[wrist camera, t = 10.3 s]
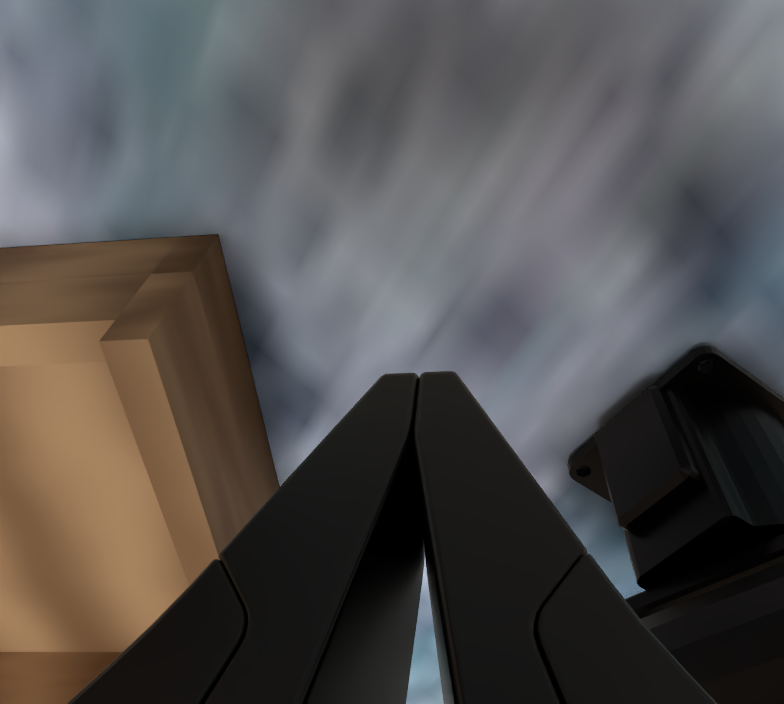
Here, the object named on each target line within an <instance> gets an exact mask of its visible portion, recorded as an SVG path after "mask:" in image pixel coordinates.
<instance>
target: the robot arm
mask: <svg viewBox="0 0 784 704" xmlns="http://www.w3.org/2000/svg"><path fill="white" fill-rule="evenodd" d="M704 360H711V361H710V362H709V364H707V365H705V366H699V364H700V362H702V361H704ZM581 466H588V467H587V468H585V469H578V468H579V467H581ZM568 469H569V474H570V476H571V478H573V479H574V480H575V481H577V482H578V483H580V484H582V485H583V486H585V487H587V488H588V489H590V490H592V491H593V492H595V493H596V494H598V495H600V496H601V497H603V498H605V499H606V500H608V501H610V502H611V503H612V506H613V510H614V514H615V517H616V521H617V524H618V525H619V527H621V528H622V529H623V532H624V536H625V540H626V544H627V547H628V551H629V555H630V558H631V562H632V566H633V570H634V573H635V577H636V581H637V584H638V585H639V586H640V587H641V588H643V589H645V590H646V591H644V592H641V593H639V594H636V595H634V596H632V597H629V598H627V599H624V598H623V596H622V595H621V594H620V593H619V591H618V590H617V589H616V588H615V586H614V585H613V584H612V583H611V581H610V580H609V579H608V577H607V576H606V574H605V573H604V572H603V570H602V569H601V568H600V566H599V565H598V564H597V562H596V561H595V559H594V558H593V557H592V556H591V555H590V554H587V550H586V548H585V547H584V545H583V544H582V543H581V541H580V540H579V538H578V537H577V536H576V534H575V533H574V532H573V530H572V529H571V528H570V526H569V525H568V524H567V522H566V521H565V519H564V518H563V517H562V515H561V514H560V513H559V511H558V510H557V509H556V507H555V506H554V505H553V503H552V502H551V501H550V499H549V498H548V496H547V495H546V494H545V492H544V491H543V490H542V488H541V487H540V486H539V484H538V483H537V482H536V480H535V479H534V477H533V476H532V475H531V473H530V472H529V471H528V469H527V468H526V467H525V465H524V464H523V463H522V461H521V460H520V459H519V457H518V456H517V454H516V453H515V452H514V450H513V449H512V448H511V446H510V445H509V444H508V442H507V441H506V440H505V438H504V437H503V436H502V434H501V433H500V431H499V430H498V429H497V427H496V426H495V425H494V423H493V422H492V421H491V419H490V418H489V417H488V415H487V414H486V412H485V411H484V410H483V408H482V407H481V406H480V404H479V403H478V402H477V400H476V399H475V398H474V396H473V395H472V394H471V392H470V391H469V389H468V388H467V387H466V385H465V384H464V383H463V381H462V380H461V379H460V377H459V376H458V375H457V374H456V373H455V372H453V371H441V372H425V373H423V374H421V375H420V377H418V375H417V374H415V373H395V374H384V375H383V376H381V377H380V378H379V379H378V380H377V381H376V383H375V384H374V385H373V386H372V387H371V388H370V389H369V390H368V391H367V392H366V393H365V395H364V396H363V397H362V398H361V399H360V400H359V401H358V402H357V403H356V404H355V405H354V407H353V408H352V409H351V410H350V411H349V412H348V413H347V414H346V415H345V416H344V418H343V419H342V420H341V421H340V422H339V423H338V424H337V425H336V426H335V427H334V428H333V430H332V431H331V432H330V433H329V434H328V435H327V436H326V437H325V438H324V439H323V440H322V442H321V443H320V444H319V445H318V446H317V447H316V448H315V449H314V450H313V451H312V452H311V454H310V455H309V456H308V457H307V458H306V459H305V460H304V461H303V462H302V463H301V465H300V466H299V467H298V468H297V469H296V470H295V471H294V472H293V473H292V474H291V475H290V477H289V478H288V479H287V480H286V481H285V482H284V483H283V484H282V485H281V486H280V487H279V489H278V490H277V491H276V492H275V493H274V494H273V495H272V496H271V497H270V498H269V500H268V501H267V502H266V503H265V504H264V505H263V506H262V507H261V508H260V509H259V510H258V512H257V513H256V514H255V515H254V516H253V517H252V518H251V519H250V520H249V521H248V522H247V524H246V525H245V526H244V527H243V528H242V529H241V530H240V531H239V532H238V533H237V534H236V536H235V537H234V538H233V539H232V540H231V541H230V542H229V543H228V544H227V545H226V547H225V548H224V549H223V550H222V551H221V552H220V553H219V555H218V559H219V560H218V559H214V560H212V561H211V562H210V564H209V565H208V566H207V567H206V568H205V569H204V570H203V571H202V572H201V573H200V574H199V576H198V577H197V578H196V579H195V580H194V581H193V582H192V583H191V584H190V585H189V586H188V587H187V588H186V590H185V591H184V592H183V593H182V594H181V595H180V596H179V597H178V598H177V599H176V600H175V601H174V602H173V603H172V604H171V605H170V606H169V607H168V608H167V609H166V610H165V611H164V612H163V613H162V614H161V615H160V616H159V618H158V619H157V620H156V621H155V622H154V623H153V624H152V625H151V626H150V627H149V628H148V629H147V630H145V631H144V632H143V633H142V634H141V635H140V636H139V637H138V638H137V639H136V640H135V641H134V642H133V643H132V644H131V645H130V646H128V647H127V648H126V649H125V650H124V651H123V652H122V653H121V654H120V655H119V656H118V657H117V658H116V659H115V660H114V661H113V662H112V663H110V664H109V665H108V666H107V667H106V668H105V669H104V670H103V671H102V672H101V673H100V674H99V675H97V676H96V677H95V678H94V679H93V680H92V681H91V682H90V683H89V684H88V685H86V686H85V687H84V688H83V689H82V690H81V691H80V692H79V693H78V694H76V695H75V696H74V697H73V698H72V699H71V700H70V701H69V702H68V703H66V704H406V697H407V690H408V683H409V675H410V668H411V660H412V653H413V645H414V638H415V631H416V623H417V616H418V608H419V601H420V593H421V586H422V578H423V568H424V554H425V558H426V567H427V577H428V585H429V593H430V600H431V608H432V616H433V623H434V631H435V639H436V646H437V654H438V662H439V669H440V677H441V685H442V692H443V700H444V704H784V398H783V397H782V396H780V395H779V394H778V393H776V392H775V391H773V390H772V389H771V388H769V387H768V386H766V385H765V384H764V383H762V382H761V381H760V380H758V379H757V378H755V377H754V376H753V375H751V374H750V373H748V372H747V371H746V370H744V369H743V368H741V367H740V366H739V365H737V364H736V363H735V362H733V361H732V360H730V359H729V358H728V357H726V356H725V355H723V354H722V353H721V352H719V351H718V350H716V349H715V348H713V347H710V346H702V347H698V348H696V349H694V350H693V351H691V352H690V353H689V354H688V355H687V356H686V357H684V358H683V359H682V360H681V361H680V362H679V363H678V364H676V365H675V366H674V367H673V368H672V369H671V370H670V371H668V372H667V373H666V374H665V375H664V376H663V377H662V378H661V379H659V380H658V381H657V382H656V383H655V384H654V385H653V386H651V387H650V388H647V389H646V390H645V391H643V392H642V393H641V394H640V395H639V396H638V397H637V398H636V399H634V400H633V401H632V402H631V403H630V404H629V405H628V406H626V407H625V408H624V409H623V410H622V411H621V412H620V413H619V414H617V415H616V416H615V417H614V418H613V419H612V420H611V421H609V422H608V423H607V424H606V425H605V426H604V427H603V428H601V429H600V430H599V431H598V432H597V433H596V436H595V437H593V438H592V439H591V440H590V441H589V442H588V443H587V444H586V445H584V446H583V447H582V448H581V449H580V450H579V451H578V452H576V453H575V454H574V455H573V456H572V457H571V458H570V459H569V461H568Z"/></svg>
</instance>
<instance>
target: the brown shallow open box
mask: <svg viewBox="0 0 784 704" xmlns="http://www.w3.org/2000/svg"><path fill="white" fill-rule="evenodd" d="M278 489H279V484H278V480H277V476H276V472H275V467H274V463H273V459H272V455H271V451H270V447H269V443H268V439H267V434H266V430H265V426H264V422H263V418H262V414H261V410H260V406H259V401H258V397H257V393H256V389H255V385H254V381H253V377H252V373H251V368H250V364H249V360H248V356H247V352H246V348H245V344H244V340H243V335H242V331H241V327H240V323H239V319H238V315H237V311H236V307H235V302H234V298H233V294H232V290H231V286H230V282H229V278H228V273H227V269H226V265H225V261H224V257H223V253H222V249H221V245H220V240H219V236H218V234H217V235H202V236H186V237H170V238H155V239H139V240H123V241H108V242H92V243H76V244H61V245H45V246H29V247H14V248H0V704H66V703H68V702H69V701H70V700H71V699H72V698H73V697H74V696H75V695H76V694H78V693H79V692H80V691H81V690H82V689H83V688H84V687H85V686H86V685H88V684H89V683H90V682H91V681H92V680H93V679H94V678H95V677H96V676H97V675H99V674H100V673H101V672H102V671H103V670H104V669H105V668H106V667H107V666H108V665H109V664H110V663H112V662H113V661H114V660H115V659H116V658H117V657H118V656H119V655H120V654H121V653H122V652H123V651H124V650H125V649H126V648H127V647H128V646H130V645H131V644H132V643H133V642H134V641H135V640H136V639H137V638H138V637H139V636H140V635H141V634H142V633H143V632H144V631H145V630H147V629H148V628H149V627H150V626H151V625H152V624H153V623H154V622H155V621H156V620H157V619H158V618H159V616H160V615H161V614H162V613H163V612H164V611H165V610H166V609H167V608H168V607H169V606H170V605H171V604H172V603H173V602H174V601H175V600H176V599H177V598H178V597H179V596H180V595H181V594H182V593H183V592H184V591H185V590H186V588H187V587H188V586H189V585H190V584H191V583H192V582H193V581H194V580H195V579H196V578H197V577H198V576H199V574H200V573H201V572H202V571H203V570H204V569H205V568H206V567H207V566H208V565H209V564H210V562H211V561H212V560H214V559H218V555H219V553H220V552H221V551H222V550H223V549H224V548H225V547H226V545H227V544H228V543H229V542H230V541H231V540H232V539H233V538H234V537H235V536H236V534H237V533H238V532H239V531H240V530H241V529H242V528H243V527H244V526H245V525H246V524H247V522H248V521H249V520H250V519H251V518H252V517H253V516H254V515H255V514H256V513H257V512H258V510H259V509H260V508H261V507H262V506H263V505H264V504H265V503H266V502H267V501H268V500H269V498H270V497H271V496H272V495H273V494H274V493H275V492H276V491H277V490H278ZM218 560H219V559H218Z"/></svg>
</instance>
